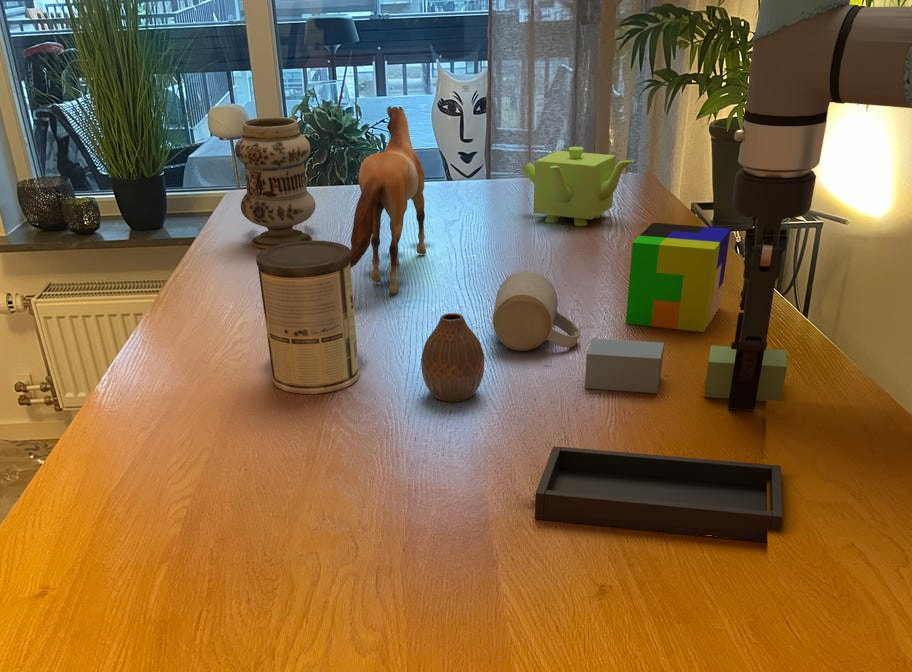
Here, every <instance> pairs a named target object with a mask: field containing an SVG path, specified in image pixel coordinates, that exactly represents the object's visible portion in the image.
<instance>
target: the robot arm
mask: <svg viewBox="0 0 912 672" xmlns="http://www.w3.org/2000/svg"><path fill="white" fill-rule="evenodd" d="M758 9H759V10H758V15H757V19H756V20H757V21H756V24H755V31H754V35H753V36H752V41H751V43H752V49H751V59H750V65H749V66H750V67H749V68H750V69H749V76H748V83H747V92H746V99H745V100H746V101H745V106H744V107H745V109H744V114H743V124H742V126H743V129H738V130H735V132H734V136H733V139H734V140H735V141H736V142H741V143H740V146H739V152H738V153H739V154H738V159H737V161H738V164H739V165H740V166H741V167H742V168H740V169H738V171H737V172H736V173H735V176H734V183H733V191H732V198H731V209H732V210H733V212H735V213H736V214H737V215H740V216H743V217H747V218H750V217H751V218H752V219H751V221H752V227H746V228H745V234H744V242H743V245H744V249H743V253H744V256H743V273H742V278H743V284H742V290H741V291H740V297H741V300H740V302H739V309H740V312H738V315H737V321H736V329H735V334H734V335H735V336H734V341H731V344H730V347H731V349H737V350H736V356H735V363H734V369H733V376H732V383H731V389H730V396H729V399H728V403H727V409H732V410H733V409H734V410H747V411H748V410H750V411H751V410H752V411H755V410H756V404H757V403H756V402H757V401H756V397H757V391H758V385H759V380H760V374H761V368H762V362H763V356H764V351H765V350H766V349H767V347H768V341H767V340H768V339H767V338H768V333H769V327H770V320H771V314H772V313H771V312H772V306H773V301H774V300H773V299H774V293H775V287H776V282H777V281H778V280H779V277H780V273H781V266H782V260H783V256H784V254H785V251H786V249H787V242H788V235H787V230H788V229H787V228H781V227H782V221H784V220H786V219H789V218H790V219H796V218H800V217H803V216H805V215H806V214H808V213H809V212H810V210H811V208H812V202H813V197H814V191H815V185H816V180H817V174H815V172H814V170H813V169H815V168H816V167H817V166H819V164H820V163H821V156H822V150H823V145H824V139H825V134H826V128H827V122H828V119H827V118H828V114H829V107H830V104H831V103H835V104H842V105H844V104H853V105H854V104H855V105H867V106H879V107H880V106H881V107H891V108H903V109H904V108H905V109H912V6H911V5H909V6H905V5H904V6H902V5H901V6H866V5H858V4H852V3H851V0H760V4H759V8H758ZM741 311H743V312H741Z"/></svg>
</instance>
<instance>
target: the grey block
mask: <svg viewBox="0 0 912 672" xmlns="http://www.w3.org/2000/svg"><path fill="white" fill-rule="evenodd" d="M664 350H665V343H664V342H660V341H659V342H658V341H642V340H641V341H640V340H623V339H611V338H610V339H609V338H592V339H591V342H590V345H589V347H588V350H587V352H586V357H585V359H586V360H585V376H584V389H586V390H587V389H589V390H601V391H602V390H603V391H614V392H615V391H616V392H617V391H618V392H631V393H644V394H645V393H646V394H658V392H659V387H660V382H661V376H662V369H663V359H664Z"/></svg>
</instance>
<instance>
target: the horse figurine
mask: <svg viewBox="0 0 912 672" xmlns="http://www.w3.org/2000/svg"><path fill="white" fill-rule="evenodd" d="M386 114H387V115H388V118H389V120H388V122H387V124H386V129H387V130H388V133H389V140H388V142H387V145H386V146H385V148H384V150H383V151H384V152H375V153H371V154H370V155H368V156H366V158H364V160H363V161H362V162H361V165H360V168H359V172H358V184H359V189H360V196H359V198H358V201H357V203H356V206H355V211H354V215H353V225H352V231H351V236H350V245H351V246H350V247H351V248H350V250H351V258H350V267H351V269H352V268H353V267H355V266H356V265H357V264H358V262H359V261H360V260H361V259H362V257H363V256H364V255H365V254H366V252H367V251H368V249H369V247H370V245H371V249H372V260H371V264H372V270H371V275H370V280H371V281H373V282H375V283H380V282H381V281H382V277H381V276H382V275H381V270H380V268H379V267H380V262H381V261H380V256H379V255H380V254H379V247H380V244H381V238H380V236H381V235H380V234H381V221H382V214H383V211H384V210H385V212H386V215H388V217H389V230H390V237H391V241H390V244H389V248H388V253H389V257H390V262H389V264H390V271H389V276H388V280H389V282H390V283H389V284H388V293H390V294H393V295H394V294H395V295H397V294H399V293H400V289H399V284H398V282H397V280H398V277H397V276H398V275H397V266H396V265H398V266H399V265H400V261H399V256H398V254H399V242H400V240H401V237H402V233H403V228H404V220H405V219H404V218H405V214H406V212H407V210H408V201H409V200H411V201H412V203H413V206H414V210H415V212H416V213H415V215H416V221H417V226H418V234H417V238H418V243H417V245H416V253H417V254H418V255H426V254H427V249H426V244H425V237H426V235H425V226H424V225H425V219H426V213H425V197H424V190H425V172H424V171H425V170H424V169H423V166H422V163H421V160H420V158H419V156H418V155H417V153H416V151H415V149H414V148H413V144H412V142H411V138H410V137H411V136H410V131H409V130H410V129H409V123H408V118H407V116H406V114H405V111H404V109H403V107H402V106H399V107H398V106H393V107H391V106H388V107H387V109H386Z"/></svg>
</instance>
